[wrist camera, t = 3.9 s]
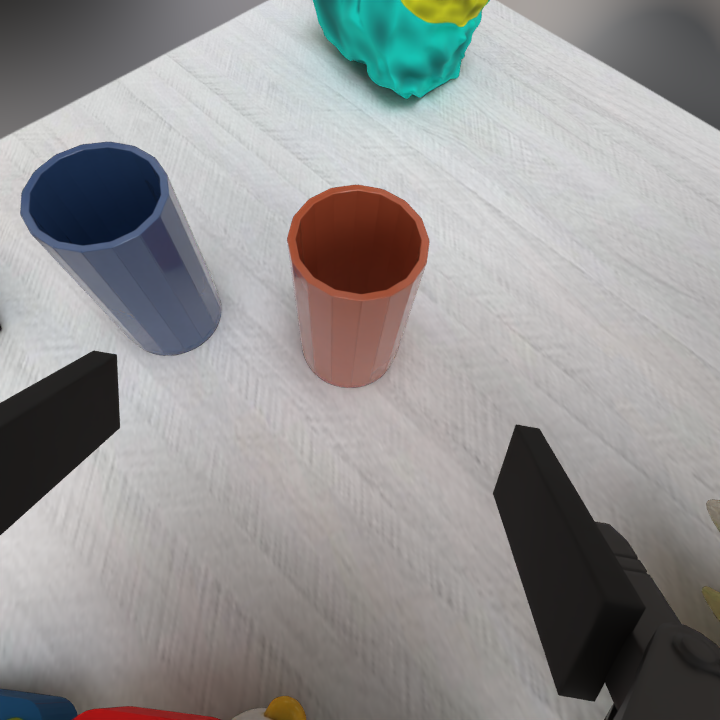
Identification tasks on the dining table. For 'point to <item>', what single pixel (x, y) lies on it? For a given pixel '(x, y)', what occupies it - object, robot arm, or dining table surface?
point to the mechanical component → (58, 715)
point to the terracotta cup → (355, 280)
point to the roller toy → (276, 711)
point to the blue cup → (125, 243)
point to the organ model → (402, 38)
